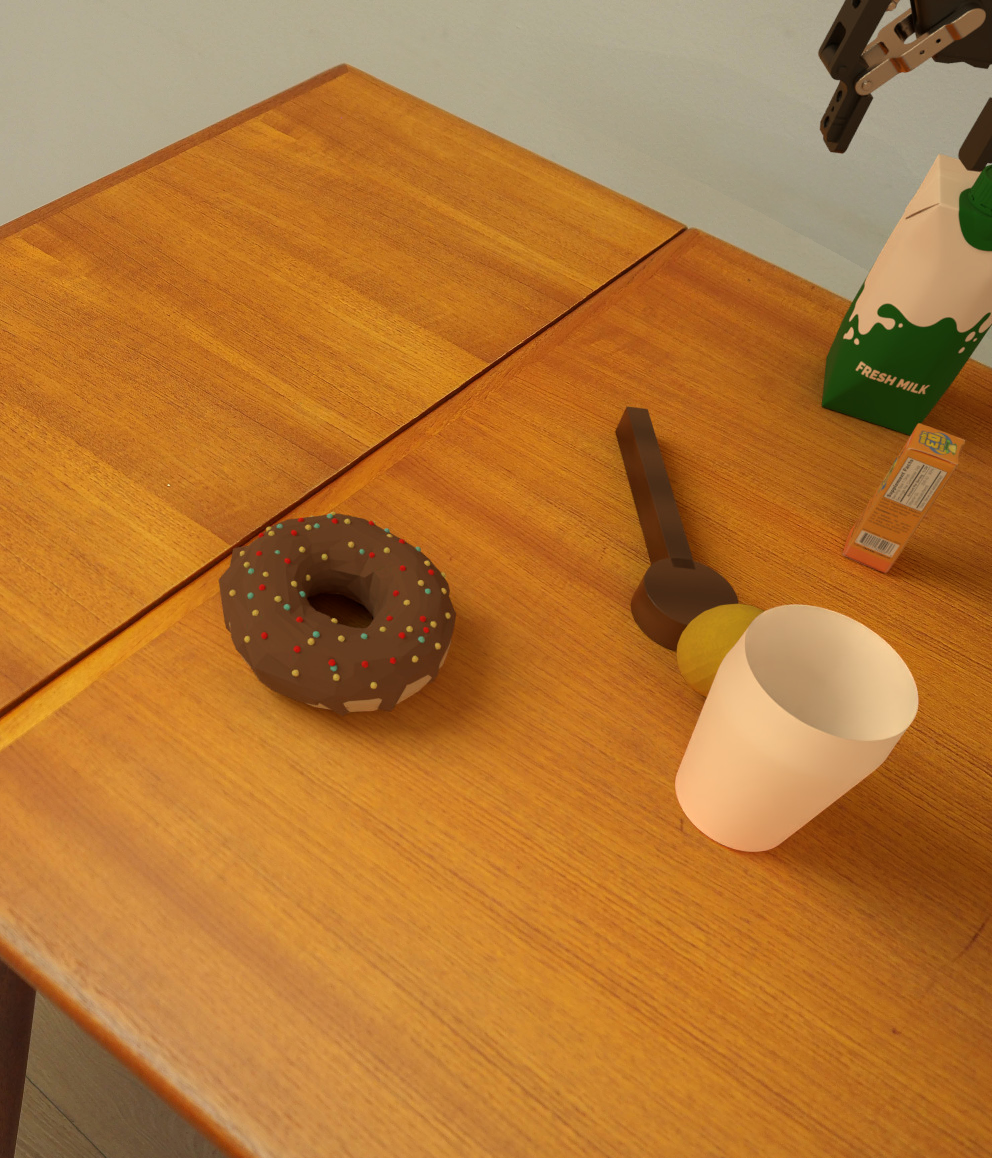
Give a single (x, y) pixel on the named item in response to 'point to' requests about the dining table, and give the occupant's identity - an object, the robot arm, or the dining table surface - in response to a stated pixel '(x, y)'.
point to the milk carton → (918, 304)
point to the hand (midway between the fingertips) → (900, 156)
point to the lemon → (711, 642)
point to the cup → (792, 725)
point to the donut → (316, 641)
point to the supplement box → (903, 498)
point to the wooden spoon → (664, 542)
